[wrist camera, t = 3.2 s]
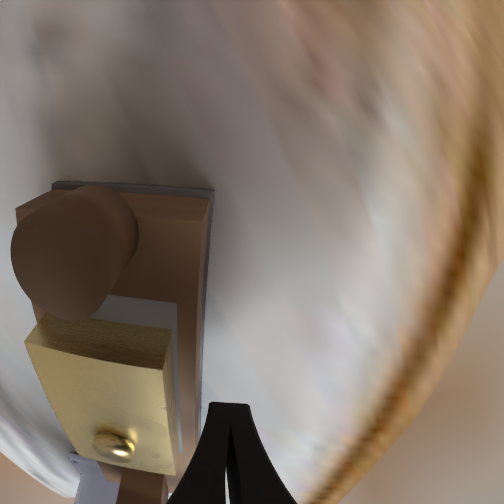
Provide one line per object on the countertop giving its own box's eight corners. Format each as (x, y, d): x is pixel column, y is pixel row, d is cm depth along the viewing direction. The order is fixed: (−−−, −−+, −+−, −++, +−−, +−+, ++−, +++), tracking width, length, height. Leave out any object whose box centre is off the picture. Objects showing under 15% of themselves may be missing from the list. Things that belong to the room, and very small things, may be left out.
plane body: (200, 461, 18) (197, 540, 12) (115, 448, 17) (98, 522, 11) (215, 173, 10) (190, 246, 4) (57, 165, 10) (-70, 221, 4)
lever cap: (179, 443, 12) (174, 485, 10) (88, 426, 11) (76, 463, 9) (172, 329, 9) (159, 383, 7) (48, 309, 9) (16, 351, 7)
